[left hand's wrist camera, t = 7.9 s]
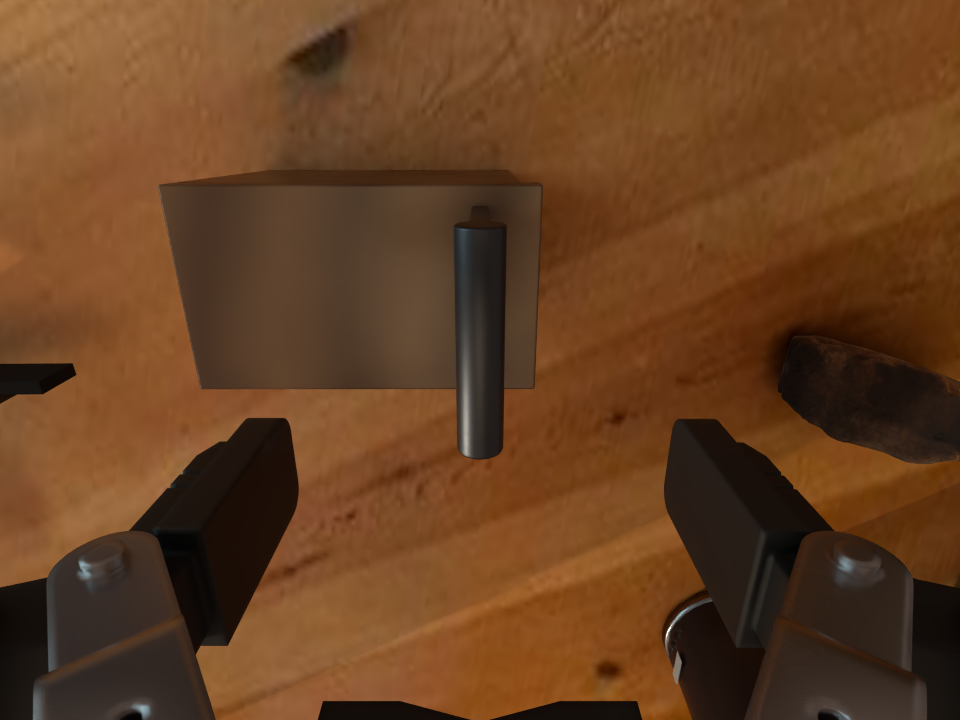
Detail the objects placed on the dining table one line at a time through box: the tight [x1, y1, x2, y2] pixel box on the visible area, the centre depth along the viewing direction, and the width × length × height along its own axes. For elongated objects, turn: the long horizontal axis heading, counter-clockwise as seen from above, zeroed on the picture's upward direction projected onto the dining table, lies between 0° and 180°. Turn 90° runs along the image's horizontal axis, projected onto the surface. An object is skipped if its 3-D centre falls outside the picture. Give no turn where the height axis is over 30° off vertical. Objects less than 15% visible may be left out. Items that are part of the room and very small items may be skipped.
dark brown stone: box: [778, 335, 960, 464], centre depth 33 cm, size 12×6×11 cm, turn 76°
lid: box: [158, 183, 543, 459], centre depth 21 cm, size 16×9×8 cm, turn 90°
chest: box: [177, 170, 521, 183], centre depth 30 cm, size 15×9×11 cm, turn 90°
